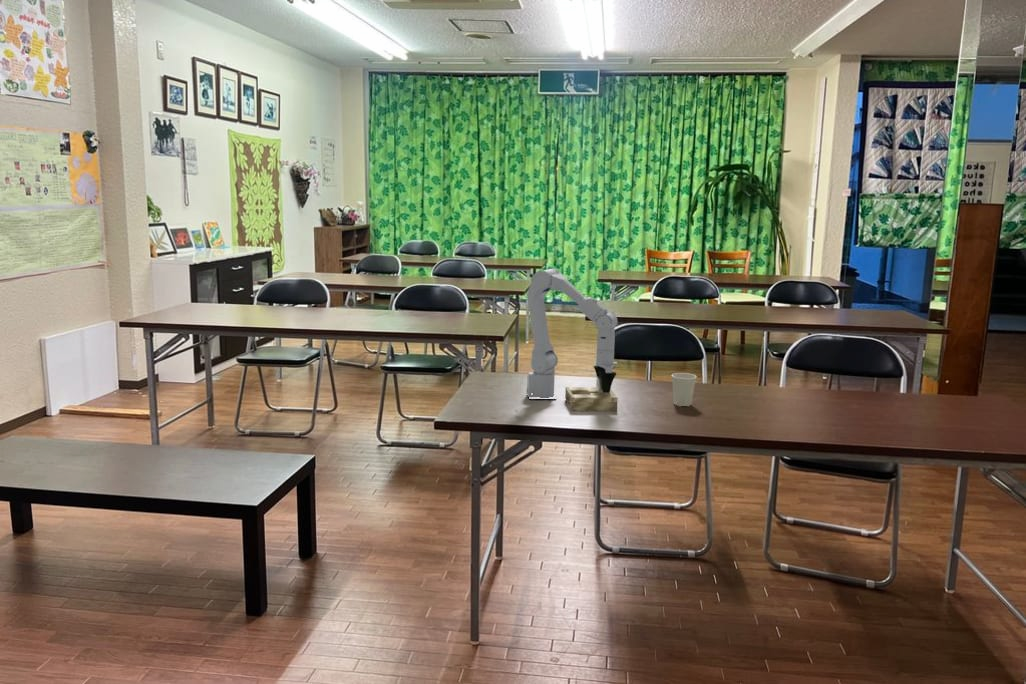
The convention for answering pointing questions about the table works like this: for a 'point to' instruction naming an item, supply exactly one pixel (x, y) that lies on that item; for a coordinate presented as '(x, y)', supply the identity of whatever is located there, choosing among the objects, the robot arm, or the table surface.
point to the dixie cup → (683, 388)
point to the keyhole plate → (590, 399)
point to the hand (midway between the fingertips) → (603, 389)
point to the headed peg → (599, 386)
